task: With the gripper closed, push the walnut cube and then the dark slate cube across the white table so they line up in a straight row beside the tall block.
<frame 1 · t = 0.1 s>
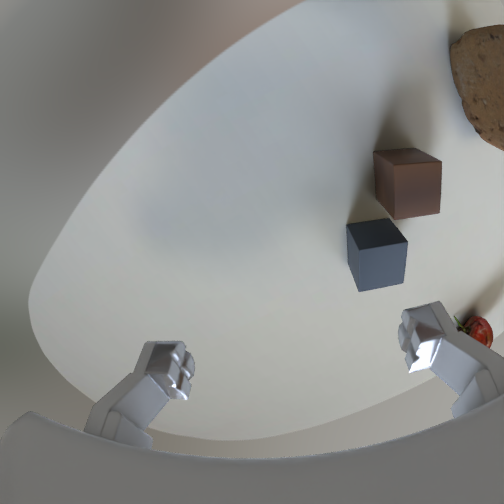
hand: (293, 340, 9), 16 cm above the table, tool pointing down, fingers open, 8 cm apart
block: (475, 84, 15), on the table
walnut cube: (396, 173, 21), on the table
slate cube: (368, 241, 25), on the table
pomegranate: (461, 323, 31), on the table
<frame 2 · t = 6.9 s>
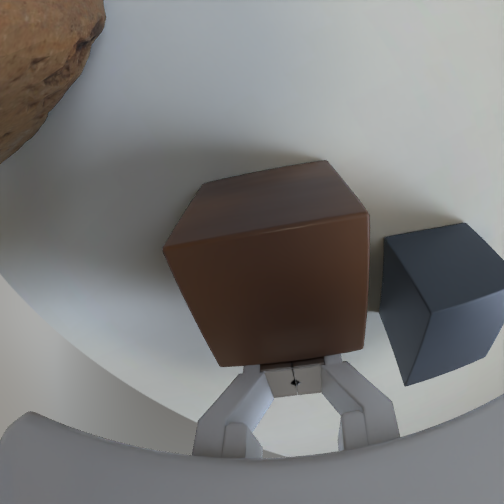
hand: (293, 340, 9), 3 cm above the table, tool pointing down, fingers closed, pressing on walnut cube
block: (27, 67, 6), on the table
walnut cube: (275, 226, 10), on the table, touching gripper
slate cube: (423, 270, 11), on the table
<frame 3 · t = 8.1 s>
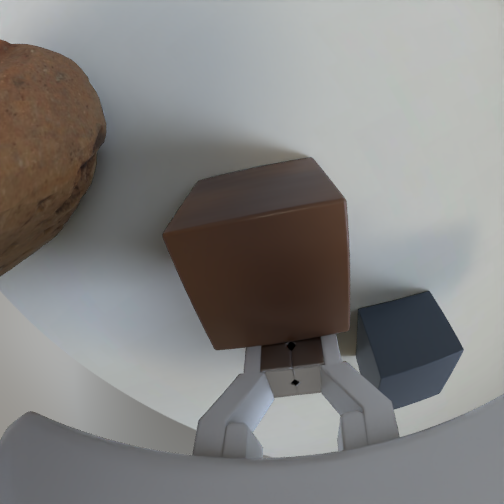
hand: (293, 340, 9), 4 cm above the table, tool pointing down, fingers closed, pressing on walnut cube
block: (37, 164, 9), on the table, touching arm
walnut cube: (266, 219, 11), on the table, touching gripper
slate cube: (391, 326, 14), on the table
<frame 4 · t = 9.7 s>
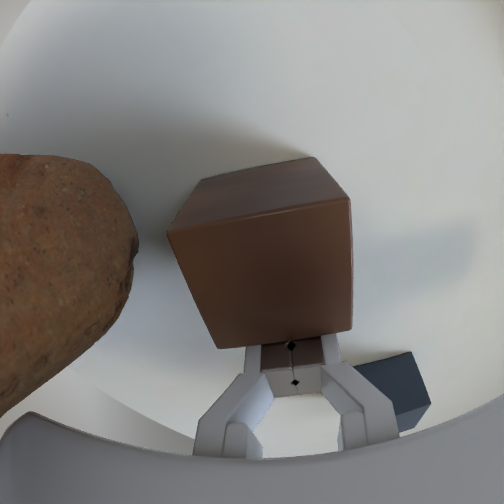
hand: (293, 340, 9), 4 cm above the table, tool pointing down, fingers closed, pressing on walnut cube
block: (73, 262, 11), point 1 cm above the table, touching arm
walnut cube: (268, 219, 11), on the table, touching gripper
slate cube: (379, 375, 17), on the table
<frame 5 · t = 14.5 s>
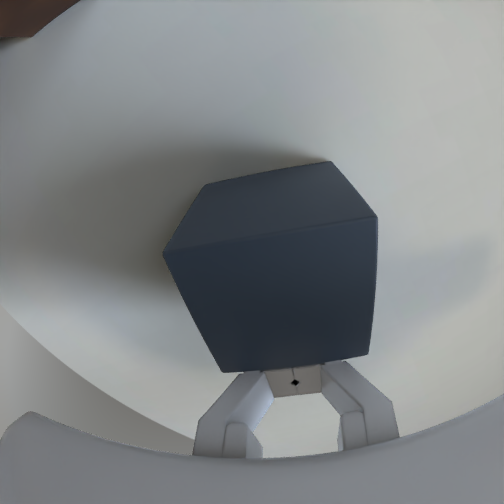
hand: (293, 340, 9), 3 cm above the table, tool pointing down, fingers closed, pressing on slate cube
slate cube: (279, 228, 10), on the table, touching gripper
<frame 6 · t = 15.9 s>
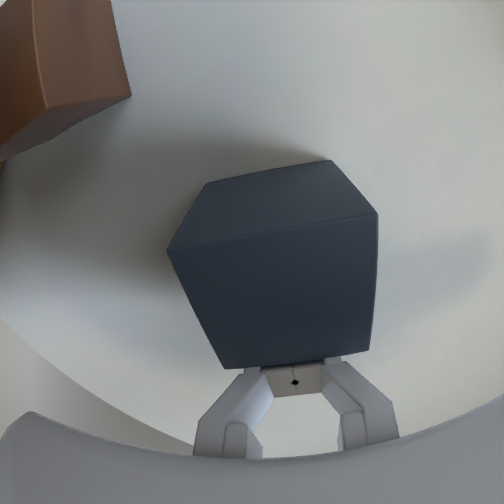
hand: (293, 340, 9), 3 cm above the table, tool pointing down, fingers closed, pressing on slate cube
walnut cube: (73, 70, 7), on the table
slate cube: (279, 226, 10), on the table, touching gripper
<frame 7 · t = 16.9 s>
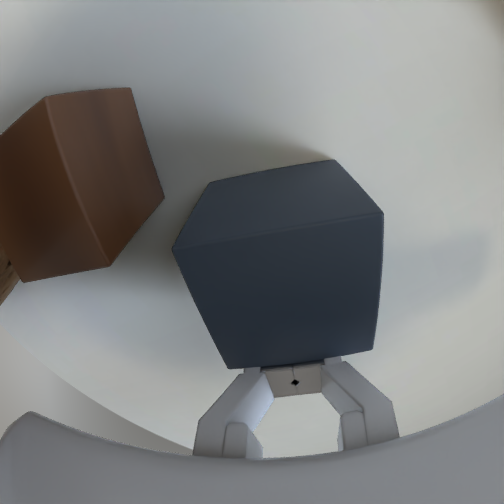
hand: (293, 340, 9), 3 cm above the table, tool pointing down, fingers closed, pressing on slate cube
walnut cube: (100, 161, 9), on the table
slate cube: (283, 226, 10), on the table, touching gripper
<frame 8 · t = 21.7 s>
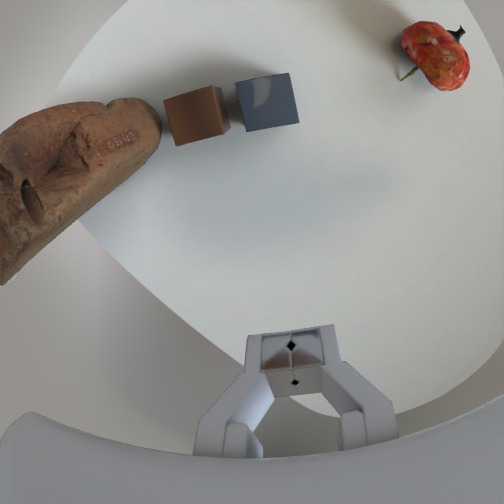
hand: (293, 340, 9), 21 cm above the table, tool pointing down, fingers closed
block: (126, 140, 26), on the table
walnut cube: (204, 113, 24), on the table
slate cube: (267, 101, 23), on the table
pomegranate: (417, 58, 19), on the table
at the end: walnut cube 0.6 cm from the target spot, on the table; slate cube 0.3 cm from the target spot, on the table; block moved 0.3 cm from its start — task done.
